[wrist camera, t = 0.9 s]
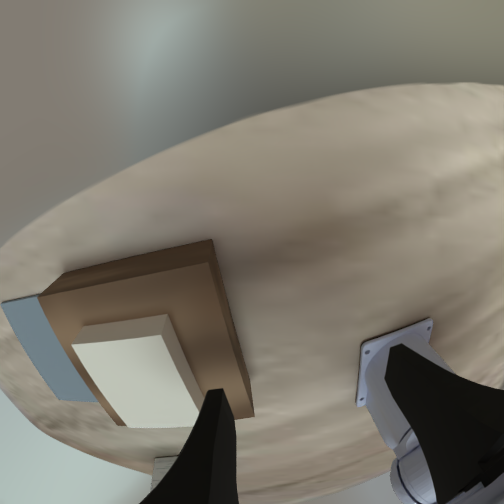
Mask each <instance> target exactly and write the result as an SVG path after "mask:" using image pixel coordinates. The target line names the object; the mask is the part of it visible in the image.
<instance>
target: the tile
mask: <svg viewBox="0 0 504 504" xmlns="http://www.w3.org/2000/svg"><path fill="white" fill-rule="evenodd" d="M71 345H72V347H73V349H74V351H75V352H76V354H77V356H78V357H79V359H80V361H81V362H82V364H83V365H84V367H85V369H86V370H87V372H88V373H89V375H90V376H91V378H92V379H93V381H94V382H95V384H96V385H97V387H98V388H99V390H100V391H101V392H102V394H103V395H104V397H105V398H106V399H107V401H108V402H109V403H110V405H111V406H112V407H113V409H114V410H115V411H116V413H117V414H118V415H119V416H120V418H121V419H122V420H123V421H124V423H125V424H126V425H127V426H128V427H129V428H171V427H189V426H194V424H195V422H196V420H197V417H198V415H199V412H200V410H201V407H202V404H203V402H204V397H203V394H202V392H201V390H200V388H199V386H198V384H197V382H196V380H195V378H194V375H193V373H192V371H191V369H190V367H189V364H188V362H187V360H186V357H185V355H184V353H183V350H182V348H181V346H180V343H179V341H178V339H177V336H176V334H175V331H174V329H173V326H172V324H171V321H170V318H169V316H168V314H164V315H157V316H151V317H145V318H138V319H132V320H125V321H118V322H111V323H104V324H96V325H89V326H83V328H82V329H81V331H80V332H79V334H78V335H77V337H76V338H75V340H74V341H73V343H72V344H71Z"/></svg>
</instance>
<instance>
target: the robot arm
mask: <svg viewBox="0 0 504 504" xmlns="http://www.w3.org/2000/svg"><path fill="white" fill-rule="evenodd" d="M432 326H433V320H432V319H431V318H429V319H426V320H424V321H421V322H419V323H416V324H414V325H411V326H409V327H406V328H404V329H401V330H398V331H396V332H393V333H390V334H387V335H384V336H382V337H379V338H376V339H373V340H370V341H367V342H365V343H363V345H362V347H361V358H360V370H359V381H358V390H357V399H356V405H357V407H361V406H364V405H366V406H367V408H368V410H369V412H370V414H371V416H372V418H373V420H374V422H375V424H376V426H377V428H378V430H379V432H380V434H381V436H382V438H383V440H384V442H385V443H386V445H387V446H388V447H390V448H391V449H393V450H394V452H395V454H396V456H397V458H395V459H394V460H393V462H392V465H391V472H390V480H391V484H392V487H393V490H394V492H395V494H396V495H397V497H398V498H399V500H400V501H401V502H402V503H403V504H504V390H500V389H495V388H491V387H488V386H486V385H485V386H484V385H481V384H478V383H475V382H472V381H470V380H467V379H465V378H462V377H460V376H458V375H456V374H455V373H454V372H453V370H452V369H451V368H450V367H449V366H448V365H447V364H446V362H445V361H444V360H443V359H442V358H441V357H440V356H439V355H438V353H437V352H436V351H435V350H434V349H433V348H432V347H431V346H430V345H429V340H430V336H431V331H432ZM139 504H239V501H238V493H237V483H236V430H235V421H234V415H233V413H232V410H231V407H230V405H229V402H228V400H227V397H226V394H225V392H224V389H223V388H219V389H211V390H208V391H207V392H206V395H205V399H204V402H203V404H202V407H201V410H200V412H199V415H198V417H197V420H196V422H195V424H194V427H193V429H192V431H191V433H190V435H189V437H188V439H187V441H186V443H185V445H184V447H183V448H182V450H181V452H180V454H179V455H178V457H177V459H176V460H175V462H174V463H173V465H172V466H171V468H170V469H169V470H168V472H167V473H166V474H165V476H164V477H163V478H162V480H161V481H160V482H159V483H158V485H157V486H156V487H155V488H154V489H153V490H152V491H151V492H150V493H149V494H148V495H147V497H145V498H144V500H143V501H142V502H140V503H139Z"/></svg>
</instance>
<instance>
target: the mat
mask: <svg viewBox="0 0 504 504" xmlns="http://www.w3.org/2000/svg"><path fill="white" fill-rule="evenodd" d="M39 295H40V294H39ZM39 295H34V296H29V297H25V298H20V299H15V300H11V301H6V302H2V303H1V304H0V305H1V307H2V309H3V311H4V313H5V315H6V317H7V319H8V321H9V323H10V325H11V327H12V329H13V330H14V332H15V334H16V336H17V338H18V340H19V341H20V343H21V345H22V346H23V348H24V350H25V351H26V353H27V355H28V356H29V358H30V360H31V361H32V363H33V364H34V366H35V367H36V369H37V370H38V372H39V373H40V375H41V376H42V378H43V379H44V380H45V382H46V383H47V385H48V386H49V387H50V389H51V390H52V391H53V393H54V394H55V395H56V397H57V398H58V399H59V400H69V401H84V402H98V400H97V399H96V398H95V396H94V395H93V394H92V392H91V391H90V389H89V388H88V387H87V385H86V384H85V382H84V381H83V379H82V378H81V376H80V375H79V373H78V372H77V370H76V369H75V367H74V366H73V364H72V362H71V361H70V359H69V358H68V356H67V354H66V353H65V351H64V349H63V347H62V346H61V344H60V342H59V340H58V339H57V337H56V335H55V333H54V331H53V330H52V328H51V326H50V324H49V322H48V320H47V318H46V316H45V314H44V312H43V310H42V308H41V306H40V303H39V301H38V299H37V297H38V296H39Z"/></svg>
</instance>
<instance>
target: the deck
mask: <svg viewBox="0 0 504 504" xmlns="http://www.w3.org/2000/svg"><path fill="white" fill-rule="evenodd" d="M37 299H38V301H39V303H40V306H41V308H42V310H43V312H44V314H45V316H46V318H47V320H48V322H49V324H50V326H51V328H52V330H53V331H54V333H55V335H56V337H57V339H58V340H59V342H60V344H61V346H62V347H63V349H64V351H65V353H66V354H67V356H68V358H69V359H70V361H71V362H72V364H73V366H74V367H75V369H76V370H77V372H78V373H79V375H80V376H81V378H82V379H83V381H84V382H85V384H86V385H87V387H88V388H89V389H90V391H91V392H92V394H93V395H94V396H95V398H96V399H97V400H98V402H99V403H100V404H101V406H102V407H103V408H104V409H105V411H106V412H107V413H108V414H109V416H110V417H111V418H112V419H113V421H114V422H115V423H116V424H117V425H118V426H127V425H126V424H125V423H124V421H123V420H122V419H121V418H120V416H119V415H118V414H117V413H116V411H115V410H114V409H113V407H112V406H111V405H110V403H109V402H108V401H107V399H106V398H105V397H104V395H103V394H102V392H101V391H100V390H99V388H98V387H97V385H96V384H95V382H94V381H93V379H92V378H91V376H90V375H89V373H88V372H87V370H86V369H85V367H84V365H83V364H82V362H81V361H80V359H79V357H78V356H77V354H76V352H75V351H74V349H73V347H72V345H71V344H72V343H73V341H74V340H75V338H76V337H77V335H78V334H79V332H80V331H81V329H82V328H83V326H89V325H96V324H104V323H111V322H118V321H125V320H132V319H138V318H145V317H151V316H157V315H164V314H168V316H169V318H170V321H171V324H172V326H173V329H174V331H175V334H176V336H177V339H178V341H179V343H180V346H181V348H182V350H183V353H184V355H185V357H186V360H187V362H188V364H189V367H190V369H191V371H192V373H193V375H194V378H195V380H196V382H197V384H198V386H199V388H200V390H201V392H202V394H203V397H204V399H205V395H206V392H207V391H208V390H211V389H219V388H223V389H224V392H225V394H226V397H227V400H228V402H229V405H230V407H231V410H232V413H233V415H234V420H237V419H243V418H250V417H255V415H254V408H253V400H252V392H251V384H250V379H249V376H248V372H247V369H246V366H245V362H244V359H243V355H242V352H241V348H240V345H239V341H238V338H237V334H236V330H235V327H234V323H233V319H232V316H231V312H230V308H229V304H228V301H227V297H226V293H225V289H224V285H223V282H222V278H221V274H220V270H219V266H218V262H217V258H216V254H215V250H214V246H213V241H212V239H210V240H205V241H200V242H196V243H191V244H187V245H182V246H178V247H173V248H169V249H164V250H160V251H155V252H151V253H146V254H142V255H138V256H133V257H129V258H125V259H121V260H116V261H112V262H108V263H104V264H100V265H95V266H91V267H87V268H83V269H79V270H75V271H71V272H67V273H63V274H62V275H61V276H60V277H59V278H58V279H57V280H55V281H54V282H53V283H52V284H51V285H50V286H49V287H48V288H47V289H45V290H44V291H43V292H42V293H41V294H40V295H39V296H38V297H37Z"/></svg>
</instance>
